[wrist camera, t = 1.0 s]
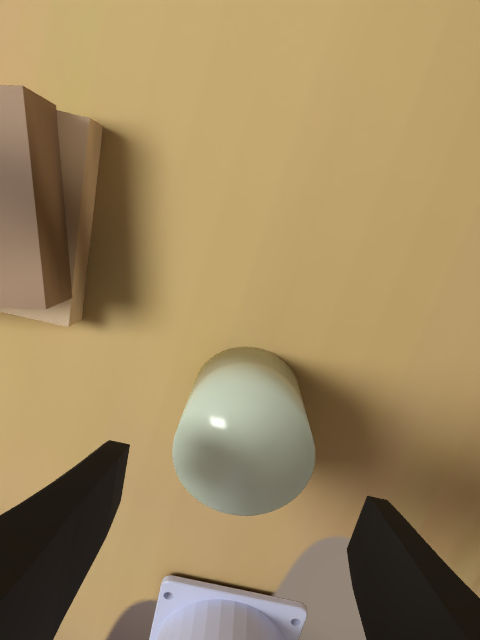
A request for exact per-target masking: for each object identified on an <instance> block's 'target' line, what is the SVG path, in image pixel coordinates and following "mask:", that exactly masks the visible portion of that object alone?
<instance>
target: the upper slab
mask: <svg viewBox="0 0 480 640" xmlns="http://www.w3.org/2000/svg"><path fill="white" fill-rule="evenodd" d="M71 298H72V287H71V275H70V264H69V252H68V240H67V229H66V217H65V206H64V194H63V182H62V171H61V159H60V147H59V136H58V124H57V112H56V105H55V104H53V103H51V102H49V101H48V100H46V99H44V98H43V97H41V96H39V95H37V94H36V93H34V92H32V91H31V90H29V89H27V88H26V87H24V86H14V85H0V308H23V309H48V308H50V307H53V306H55V305H57V304H60V303H62V302H64V301H67V300H69V299H71Z"/></svg>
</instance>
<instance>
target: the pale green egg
mask: <svg viewBox="0 0 480 640" xmlns="http://www.w3.org/2000/svg"><path fill="white" fill-rule="evenodd" d="M173 462H174V467H175V470H176V473H177V475H178V477H179V479H180V481H181V482H182V484H183V485H184V487H185V488H186V489H187V490H188V492H189V493H190V494H191V495H192V496H193V497H195V498H196V499H197V500H198V501H200V502H201V503H203V504H204V505H206V506H208V507H210V508H212V509H214V510H217V511H219V512H223V513H227V514H232V515H240V516H251V515H259V514H265V513H268V512H272V511H274V510H276V509H279V508H281V507H283V506H284V505H286V504H288V503H289V502H291V501H292V500H293V499H295V498H296V497H297V496H298V495H299V494H300V493H301V492H302V490H303V489H304V488H305V486H306V485H307V483H308V481H309V480H310V477H311V475H312V473H313V469H314V465H315V445H314V441H313V437H312V433H311V429H310V426H309V422H308V418H307V415H306V411H305V407H304V403H303V400H302V396H301V392H300V389H299V385H298V382H297V379H296V377H295V375H294V373H293V371H292V370H291V369H290V367H289V366H288V365H287V364H286V363H285V362H284V361H283V360H282V359H280V358H279V357H278V356H276V355H275V354H273V353H271V352H268V351H266V350H263V349H260V348H254V347H236V348H232V349H228V350H225V351H223V352H221V353H219V354H217V355H215V356H214V357H212V358H211V359H210V360H209V361H208V362H206V363H205V365H204V366H203V367H202V368H201V370H200V371H199V373H198V375H197V377H196V379H195V382H194V385H193V388H192V390H191V393H190V396H189V399H188V401H187V404H186V407H185V410H184V412H183V415H182V418H181V421H180V423H179V426H178V429H177V431H176V434H175V438H174V442H173Z"/></svg>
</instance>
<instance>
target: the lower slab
mask: <svg viewBox="0 0 480 640" xmlns="http://www.w3.org/2000/svg"><path fill="white" fill-rule="evenodd" d="M56 112H57V124H58V136H59V147H60V159H61V171H62V182H63V194H64V206H65V217H66V229H67V240H68V252H69V264H70V275H71V287H72V298H71V299H69V300H67V301H64V302H62V303H60V304H57V305H55V306H53V307H50V308H48V309H23V308H0V312H3V313H7V314H12V315H16V316H21V317H25V318H30V319H34V320H39V321H44V322H48V323H53V324H57V325H62V326H66V327H69V326H71V325H73V324H75V323H76V322H78V321H80V320H81V319H82V313H83V304H84V295H85V286H86V277H87V268H88V259H89V250H90V241H91V232H92V222H93V213H94V204H95V195H96V186H97V177H98V168H99V159H100V150H101V141H102V132H103V126H102V125H100V124H99V123H97V122H95V121H94V120H92V119H91V118H88V117H84V116H79V115H75V114H71V113H66V112H62V111H58V110H56Z"/></svg>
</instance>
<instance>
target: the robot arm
mask: <svg viewBox="0 0 480 640" xmlns="http://www.w3.org/2000/svg"><path fill="white" fill-rule="evenodd" d="M129 447H130V445H129V444H125V443H120V442H115V441H111V440H109V441H107V442H106V443H104V444H103V445H102V446H100V447H99V448H98V449H97V450H95V451H94V452H93V453H92V454H90V455H89V456H88V457H86V458H85V459H84V460H82V461H81V462H80V463H79V464H77V465H76V466H75V467H73V468H72V469H70V470H69V471H68V472H66V473H65V474H63V475H62V476H61V477H59V478H58V479H56V480H55V481H54V482H52V483H51V484H49V485H48V486H46V487H45V488H43V489H42V490H40V491H39V492H37V493H36V494H34V495H33V496H31V497H29V498H28V499H26V500H25V501H23V502H22V503H20V504H18V505H17V506H15V507H14V508H12V509H10V510H9V511H7V512H5V513H3V514H2V515H0V640H53V639H54V637H55V635H56V633H57V630H58V628H59V626H60V624H61V622H62V620H63V618H64V616H65V614H66V613H67V611H68V609H69V607H70V605H71V603H72V601H73V599H74V597H75V596H76V594H77V592H78V590H79V588H80V586H81V584H82V582H83V580H84V579H85V577H86V575H87V573H88V571H89V569H90V567H91V565H92V563H93V561H94V560H95V558H96V556H97V554H98V552H99V550H100V548H101V546H102V544H103V542H104V540H105V538H106V536H107V534H108V532H109V529H110V527H111V524H112V522H113V519H114V517H115V514H116V512H117V509H118V507H119V504H120V501H121V496H122V490H123V483H124V477H125V471H126V465H127V459H128V453H129ZM347 554H348V561H349V568H350V574H351V580H352V586H353V591H354V595H355V599H356V602H357V606H358V610H359V614H360V617H361V621H362V625H363V628H364V632H365V636H366V639H367V640H480V598H479V597H478V596H477V595H476V594H475V593H474V592H473V591H472V590H471V589H470V588H469V587H468V586H467V585H466V584H465V583H464V582H463V581H462V580H461V579H460V578H459V577H458V576H457V575H456V574H455V573H454V572H453V571H452V570H451V569H450V568H449V566H448V565H447V564H446V563H445V562H444V561H443V560H442V559H441V558H440V557H439V556H438V555H437V554H436V552H435V551H434V550H433V549H432V548H431V547H430V546H429V545H428V544H427V543H426V542H425V540H424V539H423V538H422V537H421V536H420V535H419V534H418V533H417V532H416V530H415V529H414V528H413V527H412V526H411V525H410V524H409V523H408V522H407V520H406V519H405V518H404V517H403V516H402V515H401V514H400V513H399V512H398V511H397V510H396V509H395V507H394V506H393V505H392V504H391V503H390V502H389V501H388V500H384V499H380V498H375V497H371V496H367V498H366V500H365V503H364V506H363V508H362V511H361V513H360V516H359V519H358V521H357V524H356V527H355V529H354V532H353V534H352V537H351V540H350V542H349V545H348V548H347ZM306 618H307V608H306V606H305V605H304V604H303V603H301V602H298V601H293V600H288V599H284V598H279V597H274V596H269V595H264V594H260V593H255V592H250V591H245V590H240V589H236V588H231V587H226V586H221V585H216V584H211V583H207V582H202V581H197V580H192V579H187V578H183V577H178V576H173V575H169V576H166V577H164V578H163V580H162V583H161V588H160V592H159V597H158V602H157V606H156V611H155V615H154V620H153V625H152V630H151V634H150V639H149V640H299V637H300V634H301V632H302V629H303V626H304V623H305V620H306Z"/></svg>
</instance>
